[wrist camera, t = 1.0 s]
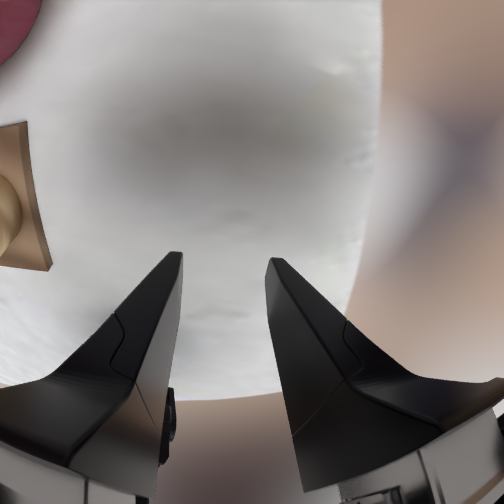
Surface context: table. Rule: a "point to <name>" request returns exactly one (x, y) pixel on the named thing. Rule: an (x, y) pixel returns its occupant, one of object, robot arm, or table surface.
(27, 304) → the table surface
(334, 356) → the robot arm
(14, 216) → the oak puck
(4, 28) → the plant pot
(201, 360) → the table surface
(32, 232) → the walnut board
